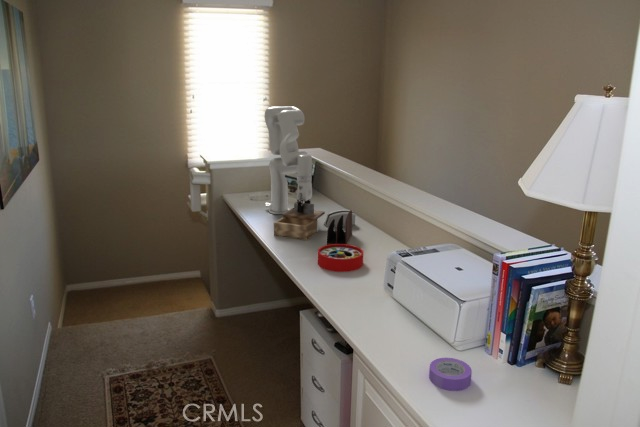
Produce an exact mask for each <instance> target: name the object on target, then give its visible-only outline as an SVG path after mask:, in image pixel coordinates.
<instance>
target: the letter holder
mask: <svg viewBox="0 0 640 427" xmlns="http://www.w3.org/2000/svg"><path fill="white" fill-rule="evenodd" d="M349 210H350V211H349V213H348V215H347V218H346V222H345V226H343V215H342V216H341V217H340V219H339V221H338V223H337V226H336V228H335V227H334V223H335V219H333V220H332V221H331V223H330V225H329V227H327V231H326V245H331V244H347V245H349V241H350V239H351V237H352V236H353V225H352V211H353V210H352V209H349ZM344 227H345V231H344ZM326 245H325V246H326Z"/></svg>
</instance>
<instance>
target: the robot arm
mask: <svg viewBox="0 0 640 427" xmlns="http://www.w3.org/2000/svg"><path fill="white" fill-rule="evenodd" d="M305 119H306V118H305V114H304V113H303V111H302V110H301V109H300V108H298V107H296V106H292V105H291V106H289V105H288V106H283V105H282V106H270V107H268V108H266V109H265V111H264V123H265V125H266V127H267V130H268V137H269V139H268V140H269V148H270V152H271V153H270V154H272V155H274V156H280V157H274V158H272V159H271V160H269V164H268V166H269V168H268V169H269V172H270V192H271V193H270V194H271V195H270V196H271V197H270V203H269V202H265V203H264V204H265V205H264V206H265V208H269V209H268V212H269V214H272V215H273V214H274V215H283V214H284V213H286V212H287V211H289V210H291V208H289V204H288V202H289V200H288V198H289V195H288V193H289V190H288V189H289V184H288V179H287V178H286V177H285V176H284V175H288V174H289V175H290V174H296V181H297V188H296V189H297V190H296V202H297V205H298V211H297V212H298V213H304V205H303V203H310V204H311V199H312V198H313V183H312V179H313V178H312V177H313V176H312V175H313V172H312V171H313V158H312V155H311V154H309V153H308V152H307V151H300V150H299V145H298V141H297V139H298V138H299V137H300V133H299V129H298V126H302V125H304V124H305V121H306V120H305Z"/></svg>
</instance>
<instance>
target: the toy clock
mask: <svg viewBox="0 0 640 427" xmlns="http://www.w3.org/2000/svg"><path fill="white" fill-rule="evenodd" d="M317 266H318V267H320V269H323V270H326V271H328V272H329V271H330V272H334V273H335V272H336V273H337V272H338V273H344V272H345V273H346V272H348V273H349V272H353V271H357V270H359V269H361V268H362V267H363V266H364V250H363V249H362V248H360V247H359V246H356V245H351V244H331V245H322V246H321V247H319V248H318V249H317Z"/></svg>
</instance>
